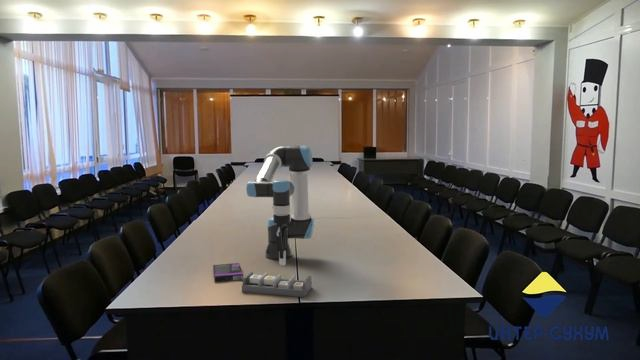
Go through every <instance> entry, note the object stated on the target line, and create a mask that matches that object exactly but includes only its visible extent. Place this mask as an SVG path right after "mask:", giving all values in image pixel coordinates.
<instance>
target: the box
mask: <svg viewBox="0 0 640 360" xmlns="http://www.w3.org/2000/svg"><path fill="white" fill-rule="evenodd" d="M212 268H213V269H212V270H213V278H214V282H215V283H219V282H220V283H221V282H228V281H239V280H243V277H244V273H243V271H242V268H241V264H240V262H237V263H236V262H235V263H234V262H233V263H221V264H212Z"/></svg>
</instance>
